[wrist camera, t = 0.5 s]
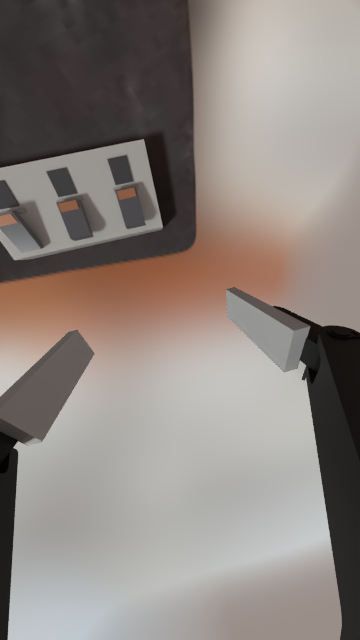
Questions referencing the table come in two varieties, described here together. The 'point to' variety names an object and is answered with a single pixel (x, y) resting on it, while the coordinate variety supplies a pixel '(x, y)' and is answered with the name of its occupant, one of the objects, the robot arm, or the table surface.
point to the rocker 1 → (19, 232)
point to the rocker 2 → (75, 219)
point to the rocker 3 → (130, 207)
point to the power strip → (79, 196)
